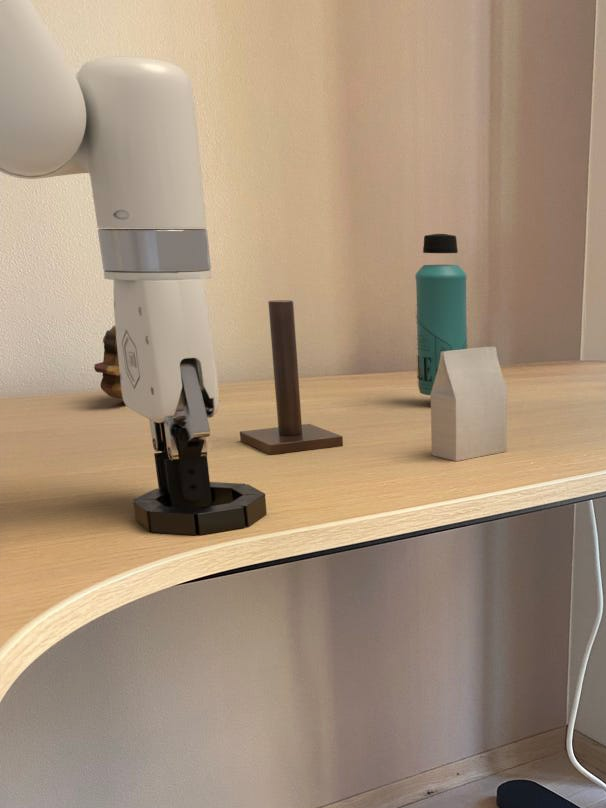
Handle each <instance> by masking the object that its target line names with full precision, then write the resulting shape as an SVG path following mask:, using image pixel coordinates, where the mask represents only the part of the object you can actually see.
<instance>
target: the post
mask: <svg viewBox="0 0 606 808" xmlns="http://www.w3.org/2000/svg"><path fill="white" fill-rule="evenodd" d="M268 315H269V328H270V342H271V353H272V364H273V378H274V390H275V403H276V404H275V406H276V415H277V416H276V417H277V418H276V419H277V427H268V428H258V429H249V430H241V431H239V438H240V439H239V440H240V442H242V443H244V444H247V445H249V446H251V447H253V448H255V449H257V450H259V451H261V452H263V453H266V454H268V455H270V456H273V455H279V454H287V453H288V454H289V453H294V452H303V451H311V450H319V449H326V448H327V449H328V448H337V447H343V446H344V440H343V439H344V438H343V435H341V434H337V433H335V432H333V431H330V430H327V429H324V428H322V427H319V426H317V425H314V424H312V423H306V424H305V423H303V424H302V408H301V396H300V394H301V393H300V380H299V367H298V366H299V364H298V352H297V351H298V350H297V337H296V336H297V335H296V325H295V324H296V323H295V321H296V320H295V307H294V301H293V300H290V299H275V300H273V299H272V300H269V301H268Z"/></svg>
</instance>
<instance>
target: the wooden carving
mask: <svg viewBox="0 0 606 808" xmlns="http://www.w3.org/2000/svg"><path fill="white" fill-rule="evenodd" d="M102 343H103V360H102V362H98V363H95V364H94V366H93V369H94V371H95V372H96V373H99V374H102V375H101V376H102V377H101V378H102V379H101V381H100V386H99V387H100V389H101V390H102V391H103V392H104V393H105V394H106V395H108V397H112V398H115V399H120V400H121V399H122V400H123V398H122V390H121V381H120V371H119V361H118V350H117V340H116V329H115V325H112V327H111V328H110V329H108V330H106V332H105V335H103V338H102Z"/></svg>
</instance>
